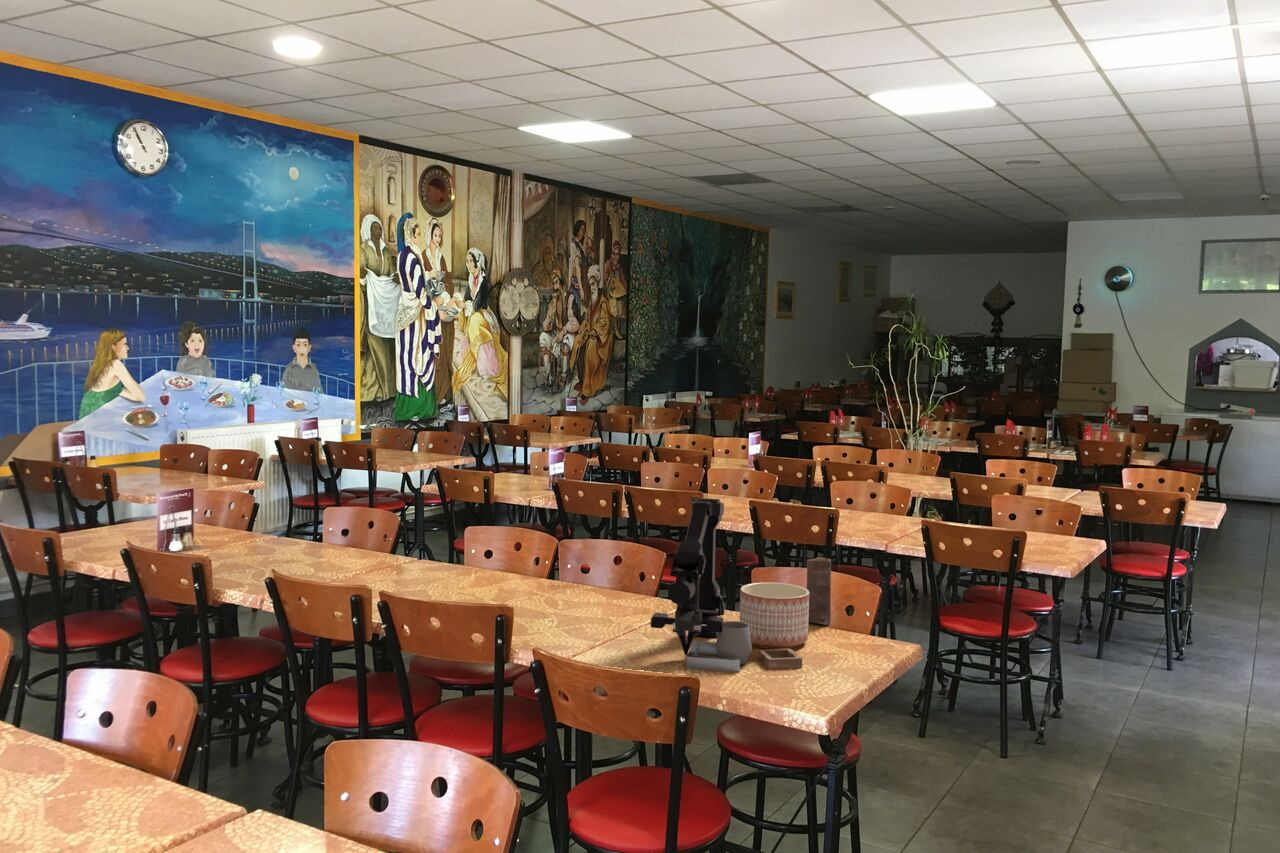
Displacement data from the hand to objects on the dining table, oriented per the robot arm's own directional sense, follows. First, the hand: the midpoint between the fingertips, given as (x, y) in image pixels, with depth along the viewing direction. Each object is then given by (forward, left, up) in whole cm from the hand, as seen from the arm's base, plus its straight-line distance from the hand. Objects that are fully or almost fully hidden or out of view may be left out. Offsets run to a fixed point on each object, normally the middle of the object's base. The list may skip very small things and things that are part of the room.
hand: (686, 654), depth 262 cm
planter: (-22, +22, -2) cm, 32 cm away
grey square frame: (0, +8, -1) cm, 8 cm away
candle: (-45, +36, -2) cm, 57 cm away
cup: (0, +13, -2) cm, 13 cm away
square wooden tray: (-2, +25, -1) cm, 25 cm away
